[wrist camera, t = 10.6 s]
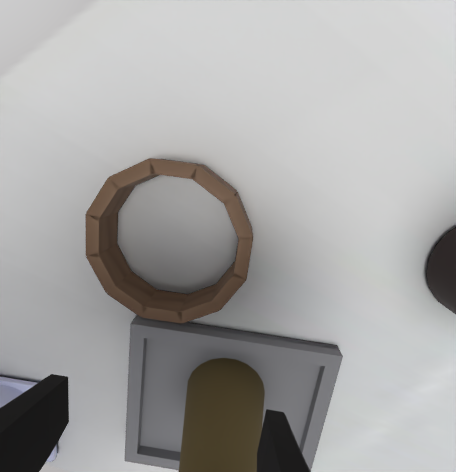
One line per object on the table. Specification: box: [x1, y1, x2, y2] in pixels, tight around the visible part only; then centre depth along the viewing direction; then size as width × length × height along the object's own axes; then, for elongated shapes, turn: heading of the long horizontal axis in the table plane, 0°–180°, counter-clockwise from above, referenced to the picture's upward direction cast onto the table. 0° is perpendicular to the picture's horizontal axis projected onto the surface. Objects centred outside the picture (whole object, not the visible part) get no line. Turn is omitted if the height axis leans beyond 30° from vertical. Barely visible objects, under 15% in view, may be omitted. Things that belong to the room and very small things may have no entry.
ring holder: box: [86, 158, 253, 323], centre depth 18 cm, size 10×10×2 cm
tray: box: [125, 315, 343, 471], centre depth 22 cm, size 15×13×1 cm
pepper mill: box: [179, 358, 265, 472], centre depth 16 cm, size 6×6×11 cm
